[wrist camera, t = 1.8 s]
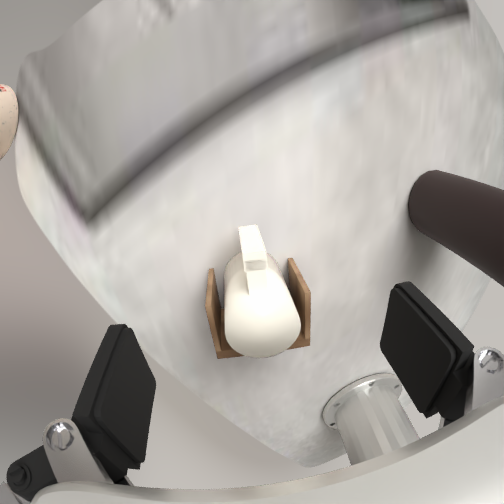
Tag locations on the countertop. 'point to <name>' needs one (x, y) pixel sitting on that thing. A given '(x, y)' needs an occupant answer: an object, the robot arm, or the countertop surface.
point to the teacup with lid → (7, 118)
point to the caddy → (217, 315)
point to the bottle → (462, 218)
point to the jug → (257, 301)
